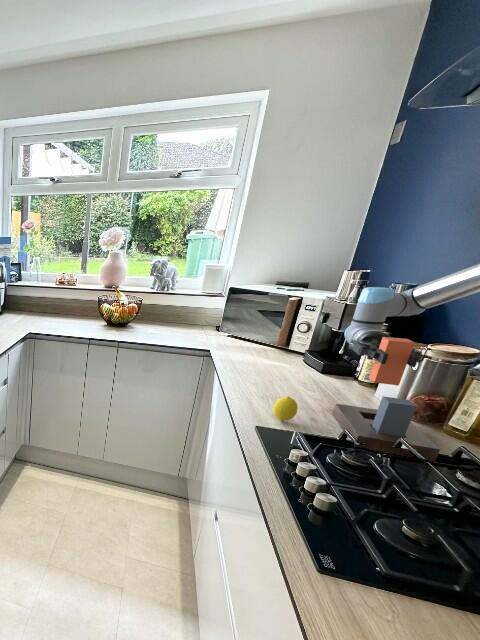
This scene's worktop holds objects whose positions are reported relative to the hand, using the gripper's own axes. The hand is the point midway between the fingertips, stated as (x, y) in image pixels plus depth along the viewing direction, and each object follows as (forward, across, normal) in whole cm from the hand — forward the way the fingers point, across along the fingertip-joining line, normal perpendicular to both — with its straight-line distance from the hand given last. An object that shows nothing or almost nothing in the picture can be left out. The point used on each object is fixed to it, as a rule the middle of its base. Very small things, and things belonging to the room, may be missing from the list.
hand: (399, 360), depth 104 cm
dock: (+1, -1, -21) cm, 21 cm away
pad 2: (+6, -1, -21) cm, 22 cm away
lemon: (+3, +21, -22) cm, 30 cm away
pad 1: (-5, 0, -8) cm, 9 cm away
